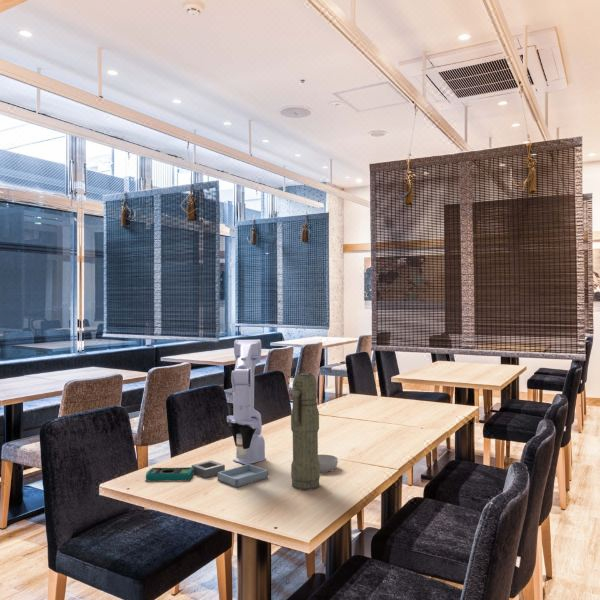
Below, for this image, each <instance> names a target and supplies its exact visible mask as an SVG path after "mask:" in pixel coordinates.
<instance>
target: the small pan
mask: <svg viewBox="0 0 600 600" xmlns="http://www.w3.org/2000/svg"><path fill="white" fill-rule="evenodd" d="M318 461H319V463H320V473H328V472H327V471H331V472H333V471H335V470H336V468H337V466H338V462H339V459H338V457H337V456H335V455H330V454H318ZM332 470H333V471H332Z"/></svg>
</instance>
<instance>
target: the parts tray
mask: <svg viewBox="0 0 600 600" xmlns="http://www.w3.org/2000/svg"><path fill="white" fill-rule="evenodd" d="M216 476H217V481H219V482H221V483H224V484H225V485H229V486H231V487H233V486H234V488H237V489H238V488H241V487H243V486H246V485H249V484H253V483H256V482H259V481H262V480H266V479H268V478H269V470H268V469H265V468H262V467H259V466H255V465H253V464H247V465H245V464H243V465H241V466H237V467H234V468H229V469H225V471H221V472H218V473H217V475H216Z"/></svg>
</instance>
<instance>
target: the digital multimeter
mask: <svg viewBox="0 0 600 600" xmlns="http://www.w3.org/2000/svg"><path fill="white" fill-rule="evenodd" d="M193 475H194V473H193V468H192V466H190V467H189V466H188V467H152V468H150V469H149V470H148V471H147V472H146V474H145V481H146V482H159V481H160V482H162V481H163V480H175V481H177V480H186V481H190V480H191V479H192V477H193ZM163 482H164V481H163Z"/></svg>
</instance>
